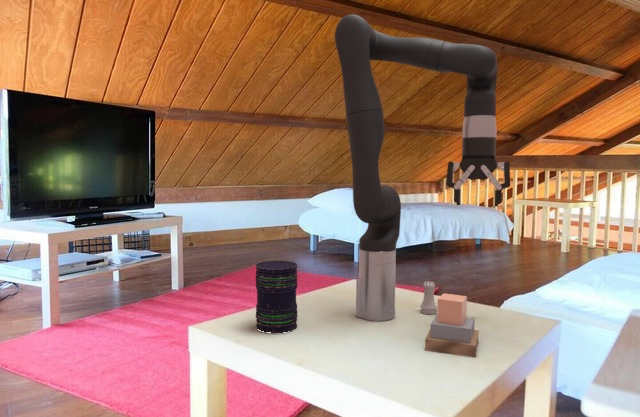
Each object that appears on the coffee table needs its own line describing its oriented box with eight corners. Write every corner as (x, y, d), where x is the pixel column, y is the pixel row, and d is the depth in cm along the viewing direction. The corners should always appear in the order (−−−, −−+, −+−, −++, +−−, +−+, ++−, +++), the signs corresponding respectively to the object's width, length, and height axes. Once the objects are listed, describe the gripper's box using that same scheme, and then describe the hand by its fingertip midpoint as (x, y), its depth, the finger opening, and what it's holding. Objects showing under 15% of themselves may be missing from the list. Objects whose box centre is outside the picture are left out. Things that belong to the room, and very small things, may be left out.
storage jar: (283, 336, 108) (283, 270, 106) (247, 329, 112) (246, 266, 111) (305, 324, 116) (305, 263, 115) (270, 318, 121) (270, 259, 120)
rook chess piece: (437, 315, 124) (438, 284, 123) (419, 314, 125) (420, 283, 124) (436, 310, 128) (437, 280, 127) (419, 309, 129) (420, 280, 128)
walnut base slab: (425, 353, 100) (425, 339, 100) (431, 337, 109) (432, 324, 109) (475, 360, 96) (476, 345, 96) (478, 343, 106) (478, 330, 105)
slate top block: (430, 337, 100) (430, 323, 100) (436, 326, 108) (437, 313, 108) (470, 343, 97) (470, 329, 97) (474, 331, 105) (474, 317, 104)
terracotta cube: (437, 322, 101) (437, 298, 101) (443, 315, 106) (443, 293, 105) (461, 325, 99) (462, 302, 98) (466, 319, 103) (467, 296, 103)
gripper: (445, 136, 112) (444, 206, 113) (511, 134, 106) (509, 207, 108) (449, 138, 119) (448, 203, 120) (511, 136, 113) (509, 205, 115)
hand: (477, 205), depth 114 cm, fingers open, 8 cm apart
